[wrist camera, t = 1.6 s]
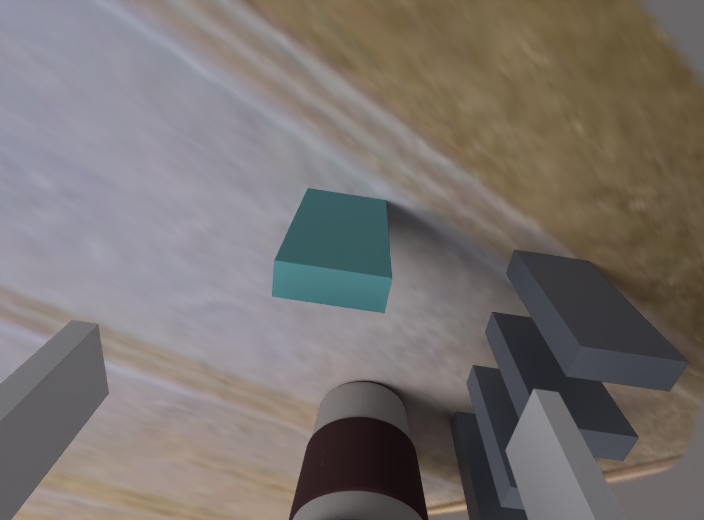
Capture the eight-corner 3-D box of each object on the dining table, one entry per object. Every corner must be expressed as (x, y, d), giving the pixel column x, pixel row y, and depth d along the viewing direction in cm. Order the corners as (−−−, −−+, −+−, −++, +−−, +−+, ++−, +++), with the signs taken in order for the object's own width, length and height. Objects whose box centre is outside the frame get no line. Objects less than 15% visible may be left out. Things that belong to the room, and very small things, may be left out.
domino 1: (307, 188, 26) (274, 260, 18) (385, 200, 27) (392, 278, 18) (305, 214, 27) (271, 296, 18) (380, 226, 27) (384, 313, 19)
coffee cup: (444, 391, 34) (490, 618, 20) (390, 465, 38) (399, 692, 25) (329, 348, 32) (298, 563, 19) (287, 430, 36) (237, 652, 23)
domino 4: (514, 249, 28) (581, 346, 19) (588, 261, 28) (688, 362, 19) (506, 273, 29) (566, 376, 20) (577, 284, 29) (669, 391, 20)
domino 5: (492, 311, 30) (542, 423, 21) (560, 322, 30) (638, 437, 21) (485, 332, 31) (530, 447, 22) (551, 341, 31) (623, 461, 22)
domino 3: (456, 411, 35) (484, 538, 26) (515, 420, 35) (564, 549, 26) (450, 427, 35) (476, 554, 26) (508, 435, 36) (553, 565, 27)
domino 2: (472, 365, 32) (510, 486, 23) (536, 374, 32) (598, 498, 24) (466, 382, 33) (500, 506, 24) (528, 391, 33) (585, 518, 24)
